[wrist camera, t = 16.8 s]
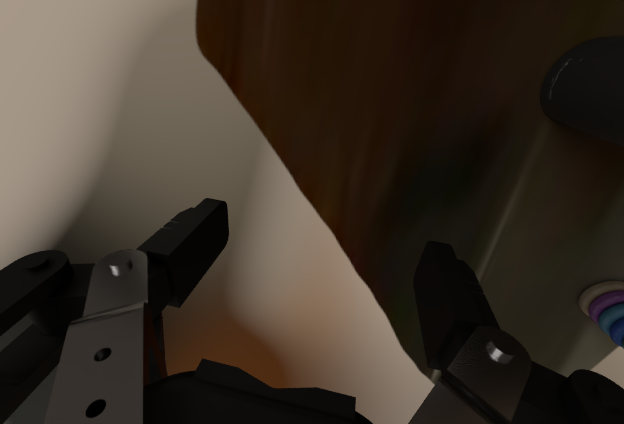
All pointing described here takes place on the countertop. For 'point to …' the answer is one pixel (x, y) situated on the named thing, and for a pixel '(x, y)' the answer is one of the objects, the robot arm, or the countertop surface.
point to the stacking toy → (606, 308)
